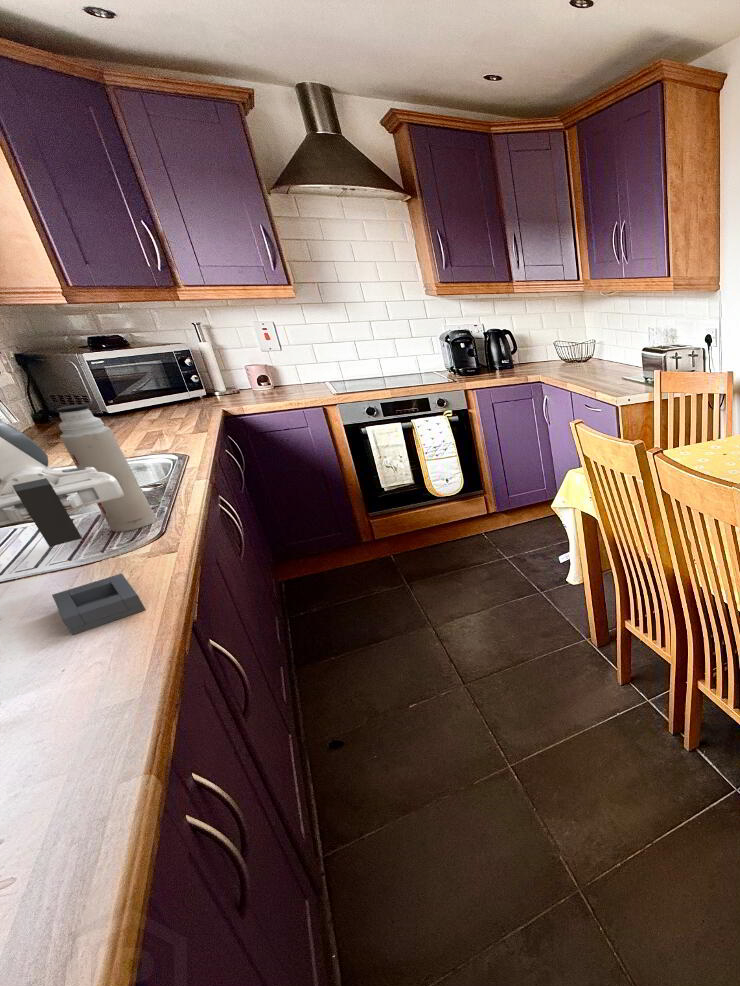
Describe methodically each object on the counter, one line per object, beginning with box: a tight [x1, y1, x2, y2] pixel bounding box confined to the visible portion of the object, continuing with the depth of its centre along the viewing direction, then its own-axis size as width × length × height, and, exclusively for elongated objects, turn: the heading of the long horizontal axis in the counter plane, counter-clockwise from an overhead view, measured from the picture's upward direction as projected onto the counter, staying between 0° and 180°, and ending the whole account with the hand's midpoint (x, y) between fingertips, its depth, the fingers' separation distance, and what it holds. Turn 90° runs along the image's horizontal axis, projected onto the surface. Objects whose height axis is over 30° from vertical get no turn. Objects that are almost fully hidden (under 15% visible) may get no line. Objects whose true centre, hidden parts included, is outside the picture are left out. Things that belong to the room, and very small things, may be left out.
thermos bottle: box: [56, 403, 157, 533], centre depth 131 cm, size 8×8×28 cm
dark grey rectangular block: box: [13, 478, 83, 548], centre depth 99 cm, size 6×4×10 cm, turn 52°
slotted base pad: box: [51, 573, 146, 636], centre depth 99 cm, size 14×9×3 cm, turn 52°
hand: (47, 510), depth 98 cm, fingers closed on dark grey rectangular block, 4 cm apart
